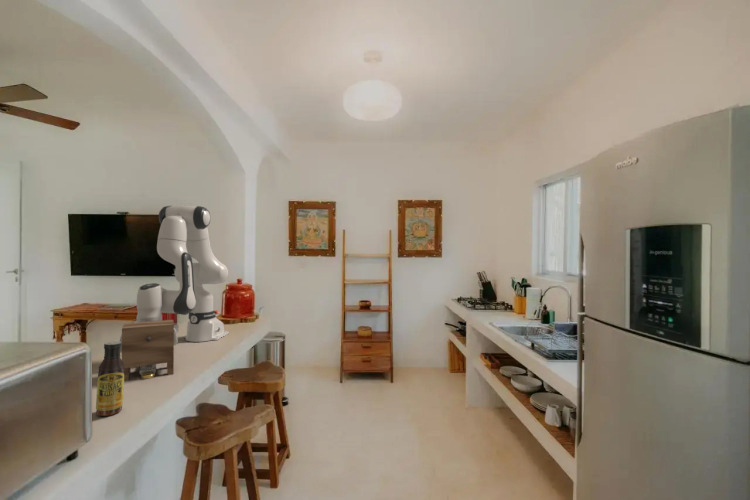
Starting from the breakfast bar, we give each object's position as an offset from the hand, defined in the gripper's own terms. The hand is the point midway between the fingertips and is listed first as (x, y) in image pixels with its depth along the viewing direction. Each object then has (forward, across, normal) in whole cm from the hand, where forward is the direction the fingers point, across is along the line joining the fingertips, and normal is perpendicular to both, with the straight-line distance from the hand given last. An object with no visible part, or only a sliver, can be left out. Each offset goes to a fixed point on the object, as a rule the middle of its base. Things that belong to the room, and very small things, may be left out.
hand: (149, 358), depth 150 cm
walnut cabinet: (+2, 0, +13) cm, 13 cm away
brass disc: (+2, 0, +18) cm, 18 cm away
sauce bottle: (+2, +8, +46) cm, 47 cm away
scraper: (+2, 0, +6) cm, 7 cm away
